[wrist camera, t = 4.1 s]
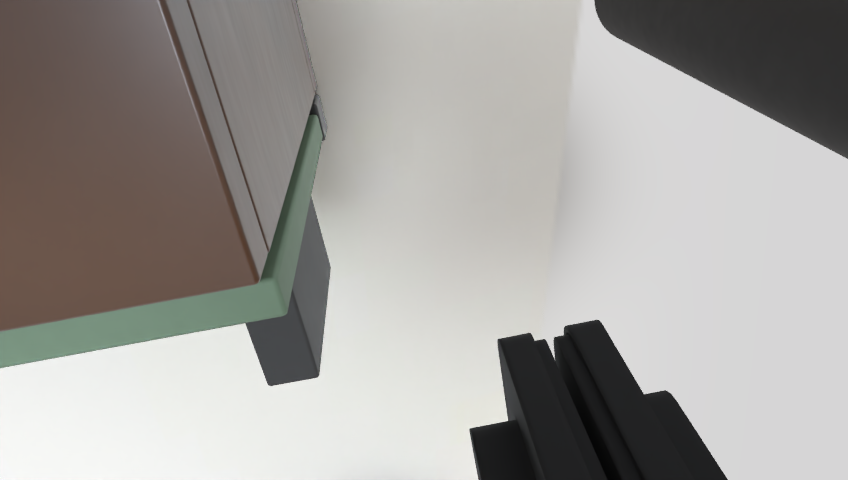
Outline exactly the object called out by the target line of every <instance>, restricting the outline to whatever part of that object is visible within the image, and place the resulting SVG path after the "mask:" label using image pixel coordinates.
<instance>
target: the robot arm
mask: <svg viewBox="0 0 848 480" xmlns="http://www.w3.org/2000/svg"><path fill="white" fill-rule="evenodd" d="M498 350H499V358H500V365H501V372H502V379H503V386H504V393H505V400H506V408H507V415H508V421H506V422H501V423H496V424H491V425H486V426H481V427H476V428H471V429H470V435H471V441H472V447H473V452H474V458H475V463H476V468H477V474H478V479H479V480H728V479H727V478H726V476H725V475H724V473H723V472H722V470H721V469H720V467H719V466H718V464H717V462H716V461H715V459H714V458H713V457H712V455H711V453H710V452H709V450H708V449H707V447H706V446H705V444H704V443H703V441H702V439H701V438H700V436H699V435H698V433H697V432H696V430H695V429H694V427H693V426H692V424H691V422H690V421H689V419H688V418H687V416H686V415H685V414H684V412H683V410H682V409H681V407H680V406H679V404H678V402H677V401H676V400H675V399H674V397H673V396H672V395H671V394H670V393H669V392H667V391H660V392H655V393H650V394H643V392H642V390H641V389H640V387H639V386H638V384H637V382H636V381H635V379H634V377H633V375H632V374H631V372H630V370H629V369H628V367H627V365H626V363H625V362H624V360H623V358H622V357H621V355H620V353H619V352H618V350H617V348H616V347H615V346H614V343H613V341H612V340H611V338H610V337H609V335H608V333H607V331H606V330H605V328H604V326H603V325H602V323H601V322H600V321H599V320H594V321H589V322H584V323H579V324H573V325H568V326H565V327H564V335H563V336H558V337H555V338H554V351H555V360H554V357H553V355H552V353H551V350H550V348H549V346H548V344H547V342H546V340H545V339H543V340H538V341H534V339H533V337H532V335H531V333H527V334H522V335H517V336H512V337H507V338H501V339H498Z"/></svg>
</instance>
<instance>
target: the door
mask: <svg viewBox="0 0 848 480" xmlns="http://www.w3.org/2000/svg"><path fill="white" fill-rule="evenodd" d="M322 138H323V135H322V131H321V127H320V123H319V119H318V116H317V115H309V116H308V120H307V123H306V127H305V130H304V134H303V137H302V141H301V144H300V147H299V151H298V154H297V158H296V161H295V165H294V168H293V172H292V175H291V178H290V182H289V185H288V189H287V192H286V196H285V199H284V203H283V206H282V210H281V213H280V216H279V220H278V223H277V227H276V230H275V234H274V237H273V241H272V244H271V248H270V251H269V252H268V254H267V258H266V262H265V265H264V269H263V272H262V276H261V279H260V282H259V283H258V284H256V285H251V286H246V287H241V288H235V289H230V290H224V291H219V292H213V293H208V294H203V295H197V296H192V297H186V298H181V299H176V300H170V301H165V302H159V303H154V304H148V305H143V306H138V307H132V308H127V309H121V310H116V311H110V312H105V313H100V314H94V315H89V316H83V317H78V318H72V319H67V320H62V321H56V322H51V323H45V324H40V325H35V326H29V327H24V328H18V329H13V330H7V331H2V332H0V368H3V367H9V366H14V365H20V364H25V363H30V362H36V361H41V360H47V359H52V358H58V357H63V356H69V355H74V354H79V353H85V352H90V351H96V350H101V349H107V348H112V347H118V346H123V345H128V344H134V343H139V342H145V341H150V340H156V339H161V338H166V337H172V336H177V335H183V334H188V333H194V332H199V331H205V330H210V329H215V328H221V327H226V326H232V325H237V324H243V323H246V326H247V329H248V331H249V334H250V337H251V340H252V342H253V345H254V348H255V351H256V353H257V356H258V359H259V362H260V364H261V367H262V370H263V373H264V375H265V378H266V381H267V383H268V385H269V386H273V385H279V384H284V383H290V382H295V381H300V380H306V379H311V378H316V377H318V376H319V372H320V362H321V353H322V343H323V334H324V325H325V315H326V306H327V297H328V287H329V278H330V268H331V267H330V263H329V259H328V256H327V252H326V248H325V245H324V241H323V238H322V234H321V230H320V227H319V223H318V219H317V216H316V212H315V208H314V205H313V201H312V197H311V193H312V188H313V183H314V178H315V173H316V168H317V163H318V158H319V153H320V148H321V143H322Z"/></svg>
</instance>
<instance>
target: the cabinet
mask: <svg viewBox="0 0 848 480" xmlns="http://www.w3.org/2000/svg"><path fill="white" fill-rule="evenodd" d="M316 88H317V83H316V79H315V75H314V71H313V67H312V63H311V59H310V55H309V51H308V47H307V43H306V39H305V35H304V31H303V27H302V23H301V19H300V15H299V11H298V7H297V2H296V0H0V332H2V331H7V330H13V329H18V328H24V327H29V326H35V325H40V324H45V323H51V322H56V321H62V320H67V319H72V318H78V317H83V316H89V315H94V314H100V313H105V312H110V311H116V310H121V309H127V308H132V307H138V306H143V305H148V304H154V303H159V302H165V301H170V300H176V299H181V298H186V297H192V296H197V295H203V294H208V293H213V292H219V291H224V290H230V289H235V288H241V287H246V286H251V285H256V284H258V283H259V282H260V279H261V276H262V272H263V269H264V265H265V262H266V258H267V254H268V252H269V251H270V248H271V244H272V241H273V237H274V234H275V230H276V227H277V223H278V220H279V216H280V213H281V210H282V206H283V203H284V199H285V196H286V192H287V189H288V185H289V182H290V178H291V175H292V172H293V168H294V165H295V161H296V158H297V154H298V151H299V147H300V144H301V141H302V137H303V134H304V130H305V127H306V123H307V120H308V116H309V115H317V116H318V119H319V123H320V127H321V131H322V135H323V138H322V141H324V140H325V137H326V132H327V124H326V120H325V116H324V112H323V108H322V104H321V100H320V97H319V95H315V92H316Z"/></svg>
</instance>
